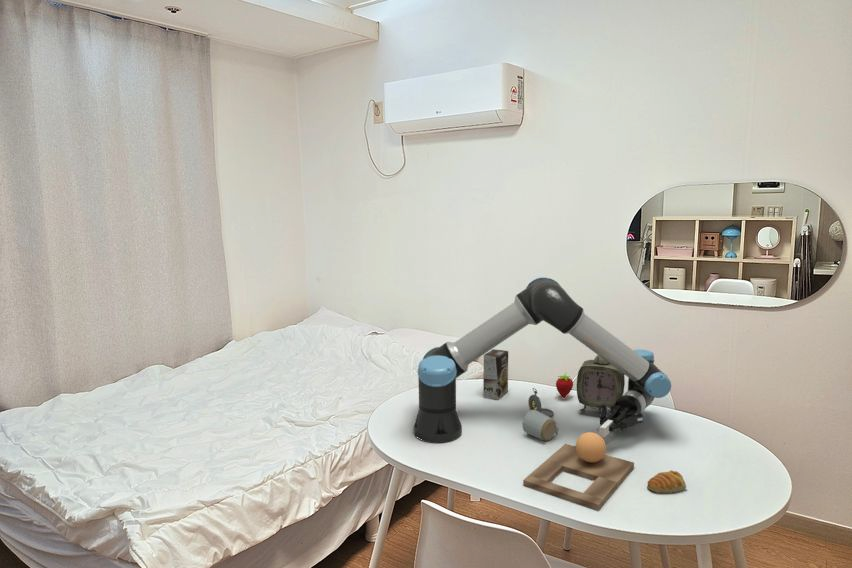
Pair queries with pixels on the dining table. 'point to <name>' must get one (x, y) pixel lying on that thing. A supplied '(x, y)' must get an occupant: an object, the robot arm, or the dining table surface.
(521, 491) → the dining table surface
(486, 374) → the coffee box
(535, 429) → the ceramic mug
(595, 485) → the hole board
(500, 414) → the dining table surface
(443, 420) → the robot arm
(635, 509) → the dining table surface
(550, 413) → the pocket watch
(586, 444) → the ball
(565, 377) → the strawberry
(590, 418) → the dining table surface
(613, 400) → the tabletop clock
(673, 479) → the pastry
